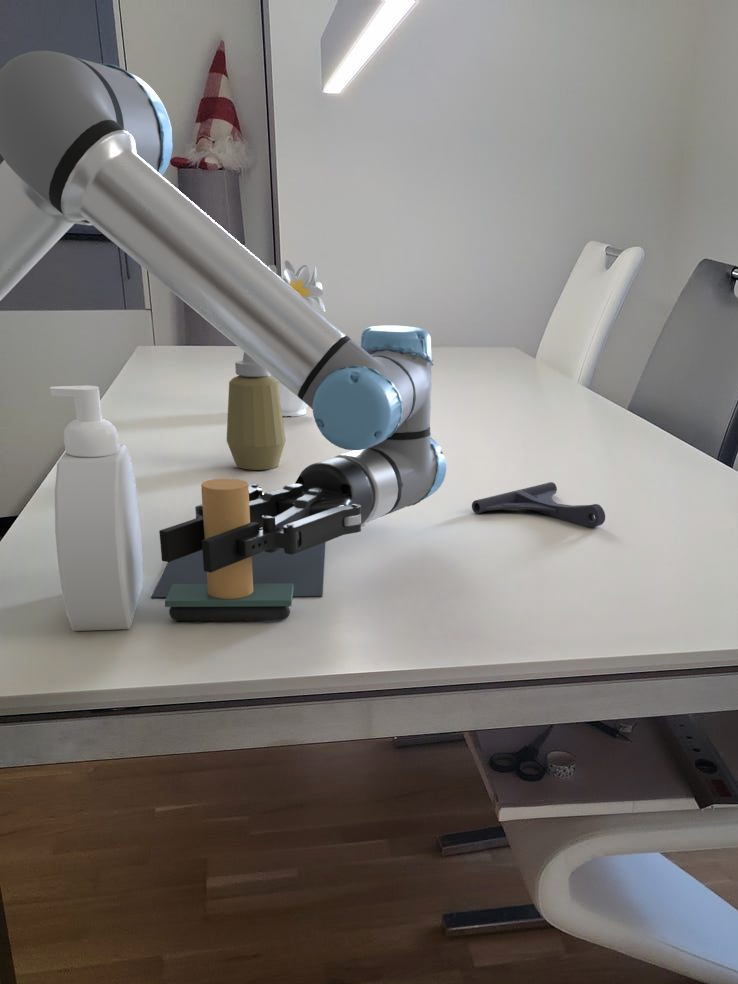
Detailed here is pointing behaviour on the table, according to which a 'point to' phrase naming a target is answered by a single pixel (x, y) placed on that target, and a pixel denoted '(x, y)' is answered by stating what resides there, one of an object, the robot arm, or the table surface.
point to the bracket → (542, 505)
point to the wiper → (228, 569)
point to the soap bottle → (96, 520)
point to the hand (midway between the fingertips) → (185, 551)
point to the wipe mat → (255, 571)
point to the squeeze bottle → (254, 417)
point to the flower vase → (300, 283)
